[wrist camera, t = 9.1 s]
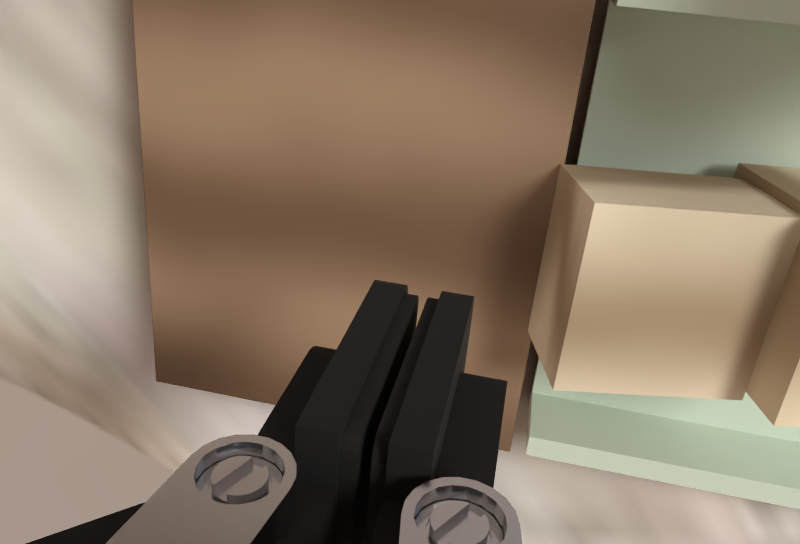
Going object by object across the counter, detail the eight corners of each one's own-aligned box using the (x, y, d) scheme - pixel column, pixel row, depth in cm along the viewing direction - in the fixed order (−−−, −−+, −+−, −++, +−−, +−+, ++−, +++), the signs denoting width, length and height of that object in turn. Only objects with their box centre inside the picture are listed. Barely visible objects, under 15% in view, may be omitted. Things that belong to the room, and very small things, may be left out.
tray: (614, -29, 19) (623, -27, 17) (1135, 23, 18) (1240, 35, 15) (529, 401, 25) (525, 454, 23) (913, 473, 23) (959, 541, 21)
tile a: (560, 163, 19) (594, 202, 16) (743, 178, 19) (807, 218, 16) (527, 330, 21) (553, 390, 18) (693, 340, 21) (742, 400, 18)
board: (182, -72, 21) (127, -77, 18) (595, -31, 19) (601, -29, 17) (196, 338, 27) (156, 381, 24) (514, 398, 25) (509, 451, 23)
